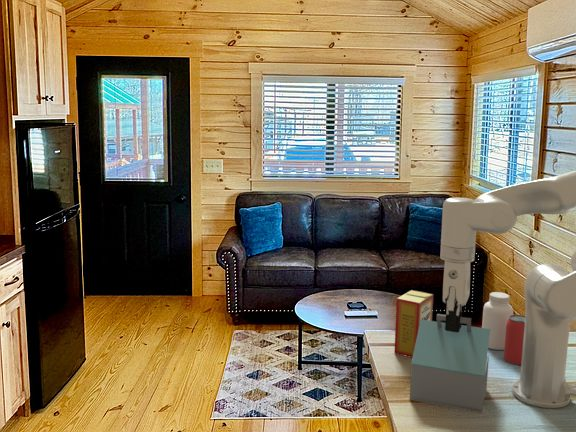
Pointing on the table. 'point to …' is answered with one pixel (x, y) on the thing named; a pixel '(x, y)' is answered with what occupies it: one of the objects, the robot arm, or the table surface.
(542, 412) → the table surface
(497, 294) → the pill bottle
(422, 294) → the baking soda box
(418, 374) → the carton
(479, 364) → the lid
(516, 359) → the beer can
